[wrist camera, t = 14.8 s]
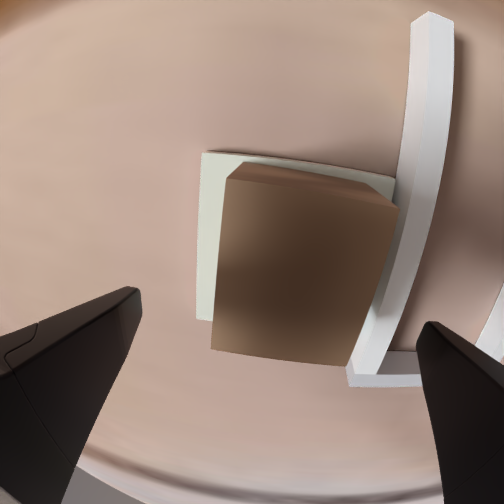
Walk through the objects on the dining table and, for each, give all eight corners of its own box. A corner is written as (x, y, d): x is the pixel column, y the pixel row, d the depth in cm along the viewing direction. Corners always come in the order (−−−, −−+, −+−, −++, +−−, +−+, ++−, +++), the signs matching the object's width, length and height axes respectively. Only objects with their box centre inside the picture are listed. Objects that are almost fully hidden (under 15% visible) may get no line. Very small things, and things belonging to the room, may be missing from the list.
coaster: (389, 176, 12) (395, 179, 12) (351, 327, 15) (353, 336, 15) (206, 150, 13) (201, 152, 12) (199, 310, 16) (196, 318, 15)
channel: (552, 98, 9) (574, 100, 7) (476, 361, 16) (488, 380, 14) (410, 23, 9) (428, 11, 7) (344, 361, 16) (349, 386, 15)
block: (365, 183, 12) (400, 208, 8) (333, 308, 14) (346, 366, 10) (243, 161, 12) (226, 178, 8) (227, 292, 14) (210, 348, 11)
